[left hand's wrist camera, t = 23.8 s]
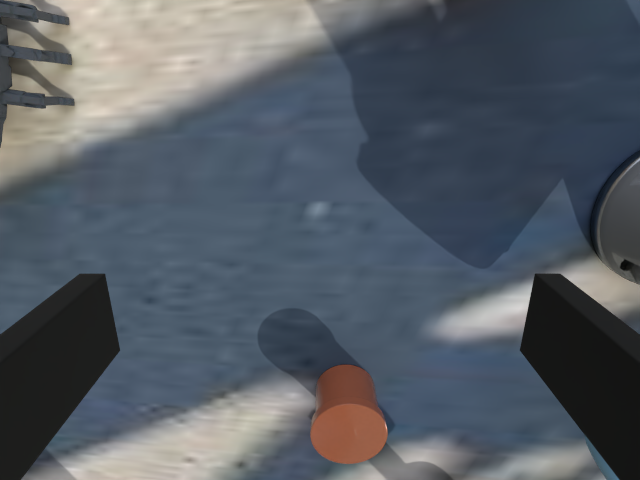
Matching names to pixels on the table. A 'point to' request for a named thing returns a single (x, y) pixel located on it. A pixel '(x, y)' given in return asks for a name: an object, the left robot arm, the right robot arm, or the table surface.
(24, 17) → the toy
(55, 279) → the table surface
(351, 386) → the terracotta cylinder
